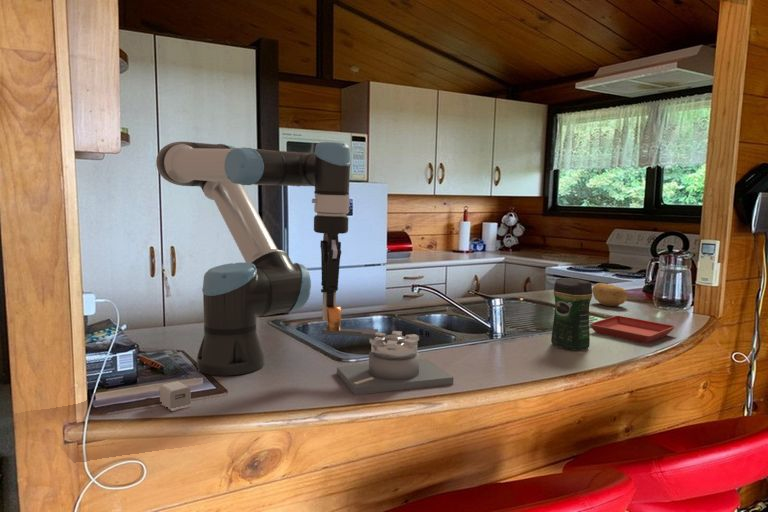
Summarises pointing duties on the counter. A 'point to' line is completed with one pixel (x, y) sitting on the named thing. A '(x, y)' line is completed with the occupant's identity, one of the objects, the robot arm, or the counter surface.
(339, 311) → the bar with orange knob
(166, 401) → the usb wall charger
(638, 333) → the plant saucer
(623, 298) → the potato
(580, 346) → the coffee jar
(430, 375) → the base plate
